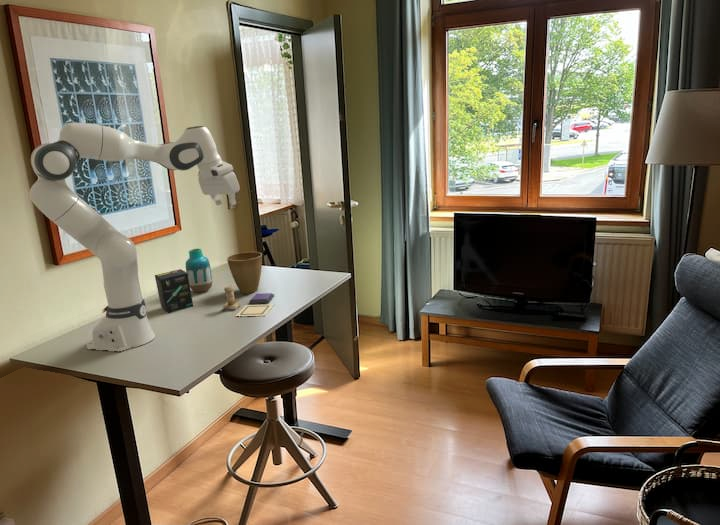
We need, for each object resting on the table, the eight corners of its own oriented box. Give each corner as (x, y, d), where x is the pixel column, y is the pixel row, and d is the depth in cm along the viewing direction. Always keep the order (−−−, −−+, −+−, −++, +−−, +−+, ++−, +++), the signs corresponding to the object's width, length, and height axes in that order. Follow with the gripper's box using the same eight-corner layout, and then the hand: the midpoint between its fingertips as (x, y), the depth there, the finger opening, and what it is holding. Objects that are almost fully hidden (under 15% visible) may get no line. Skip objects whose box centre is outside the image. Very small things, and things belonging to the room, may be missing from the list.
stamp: (223, 310, 208) (220, 289, 206) (228, 306, 213) (225, 285, 210) (235, 310, 207) (232, 289, 205) (240, 305, 212) (237, 285, 210)
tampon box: (186, 301, 223) (180, 268, 219) (194, 306, 216) (188, 272, 212) (160, 308, 217) (153, 274, 213) (167, 313, 210) (160, 278, 206)
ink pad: (249, 304, 213) (249, 299, 212) (256, 297, 221) (255, 293, 220) (268, 303, 212) (268, 299, 211) (274, 296, 219) (273, 292, 219)
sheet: (234, 317, 200) (234, 316, 200) (245, 305, 211) (245, 304, 211) (265, 316, 198) (265, 315, 198) (274, 304, 209) (274, 304, 209)
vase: (185, 294, 232) (177, 253, 227) (199, 286, 242) (192, 246, 237) (205, 295, 229) (198, 253, 224) (218, 287, 238) (212, 246, 233)
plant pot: (253, 297, 220) (247, 261, 216) (225, 295, 227) (219, 259, 223) (273, 286, 233) (268, 251, 229) (246, 284, 240) (241, 250, 235)
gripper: (190, 173, 196) (204, 207, 201) (221, 171, 182) (235, 207, 187) (203, 167, 200) (217, 201, 205) (234, 164, 186) (248, 200, 191)
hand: (226, 204), depth 196 cm, fingers open, 8 cm apart
